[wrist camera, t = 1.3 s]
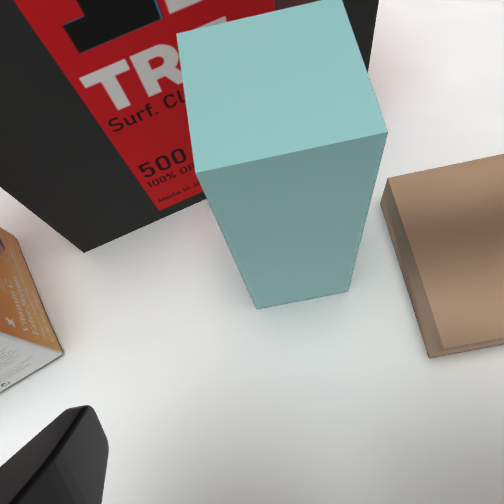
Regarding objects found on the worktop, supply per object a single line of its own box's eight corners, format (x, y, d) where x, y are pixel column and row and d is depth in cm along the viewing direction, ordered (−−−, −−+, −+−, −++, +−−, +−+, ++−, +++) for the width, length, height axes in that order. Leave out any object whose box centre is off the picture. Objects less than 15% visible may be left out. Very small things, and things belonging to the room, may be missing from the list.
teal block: (347, 291, 22) (388, 131, 10) (256, 309, 22) (195, 173, 10) (326, 210, 23) (340, -5, 12) (242, 227, 24) (176, 34, 12)
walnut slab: (611, 324, 20) (651, 309, 17) (429, 358, 20) (444, 348, 18) (536, 171, 23) (562, 141, 20) (380, 203, 23) (387, 178, 21)
